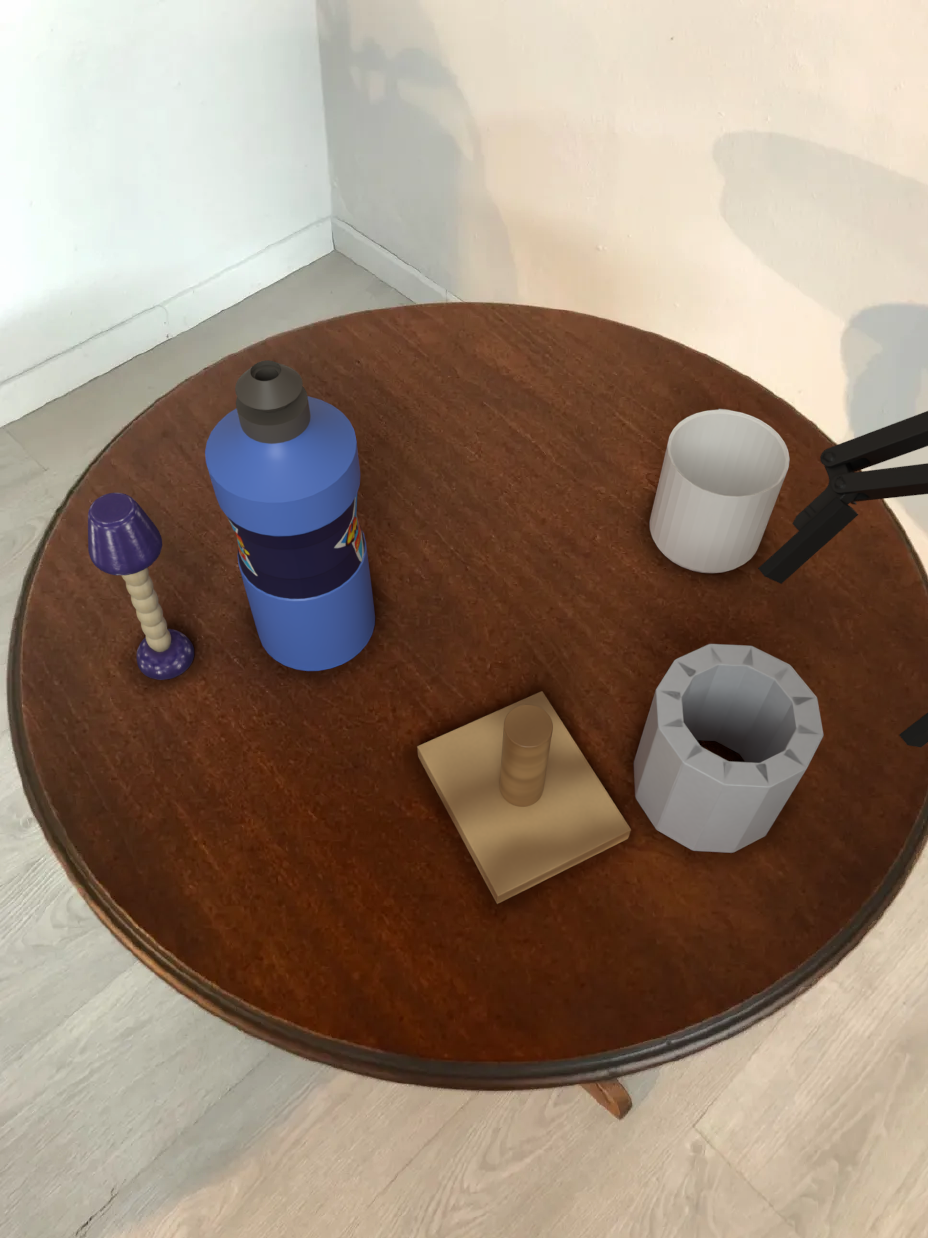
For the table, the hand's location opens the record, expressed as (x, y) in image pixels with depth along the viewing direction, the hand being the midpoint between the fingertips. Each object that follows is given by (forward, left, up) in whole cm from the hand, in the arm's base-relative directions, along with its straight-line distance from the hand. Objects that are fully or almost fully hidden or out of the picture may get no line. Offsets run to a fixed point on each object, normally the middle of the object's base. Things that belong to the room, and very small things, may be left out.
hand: (835, 654), depth 63 cm
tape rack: (+5, +19, -12) cm, 23 cm away
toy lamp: (+27, +37, -12) cm, 47 cm away
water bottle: (+25, +26, -12) cm, 38 cm away
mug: (+20, -7, -12) cm, 24 cm away
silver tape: (0, +7, -12) cm, 14 cm away
